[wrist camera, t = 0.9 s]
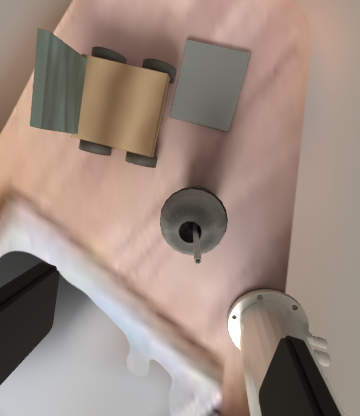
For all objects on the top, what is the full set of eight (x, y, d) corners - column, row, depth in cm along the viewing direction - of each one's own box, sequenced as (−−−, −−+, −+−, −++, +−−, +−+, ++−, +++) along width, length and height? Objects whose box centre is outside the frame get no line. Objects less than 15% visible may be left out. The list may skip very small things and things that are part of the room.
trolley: (178, 75, 33) (159, 30, 21) (158, 166, 36) (132, 172, 24) (100, 57, 34) (39, 4, 22) (87, 148, 37) (28, 145, 25)
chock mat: (250, 55, 32) (250, 53, 31) (228, 131, 34) (228, 131, 33) (187, 41, 32) (186, 39, 32) (170, 117, 35) (169, 117, 34)
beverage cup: (193, 167, 36) (171, 182, 16) (232, 195, 36) (257, 243, 17) (166, 205, 38) (118, 260, 18) (204, 232, 38) (196, 314, 18)
